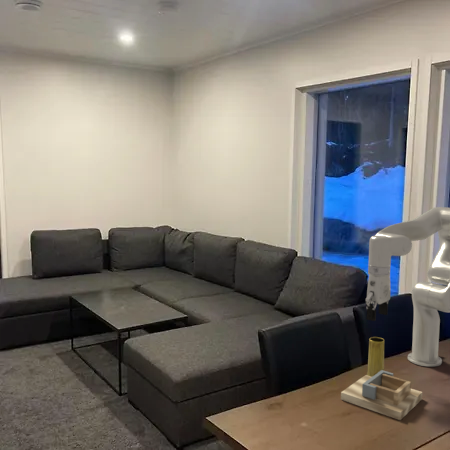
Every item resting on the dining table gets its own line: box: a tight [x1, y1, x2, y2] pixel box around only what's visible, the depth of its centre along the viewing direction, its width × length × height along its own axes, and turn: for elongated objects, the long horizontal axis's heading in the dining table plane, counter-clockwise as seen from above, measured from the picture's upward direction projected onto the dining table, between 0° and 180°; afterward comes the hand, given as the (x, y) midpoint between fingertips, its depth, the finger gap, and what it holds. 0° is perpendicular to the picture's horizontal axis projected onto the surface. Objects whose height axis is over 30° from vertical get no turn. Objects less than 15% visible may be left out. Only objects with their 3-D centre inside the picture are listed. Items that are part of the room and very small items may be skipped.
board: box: [340, 374, 423, 421], centre depth 160 cm, size 18×20×6 cm
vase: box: [366, 336, 385, 377], centre depth 177 cm, size 6×6×14 cm
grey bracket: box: [362, 370, 394, 400], centre depth 161 cm, size 14×4×4 cm, turn 138°
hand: (377, 317), depth 174 cm, fingers open, 9 cm apart
